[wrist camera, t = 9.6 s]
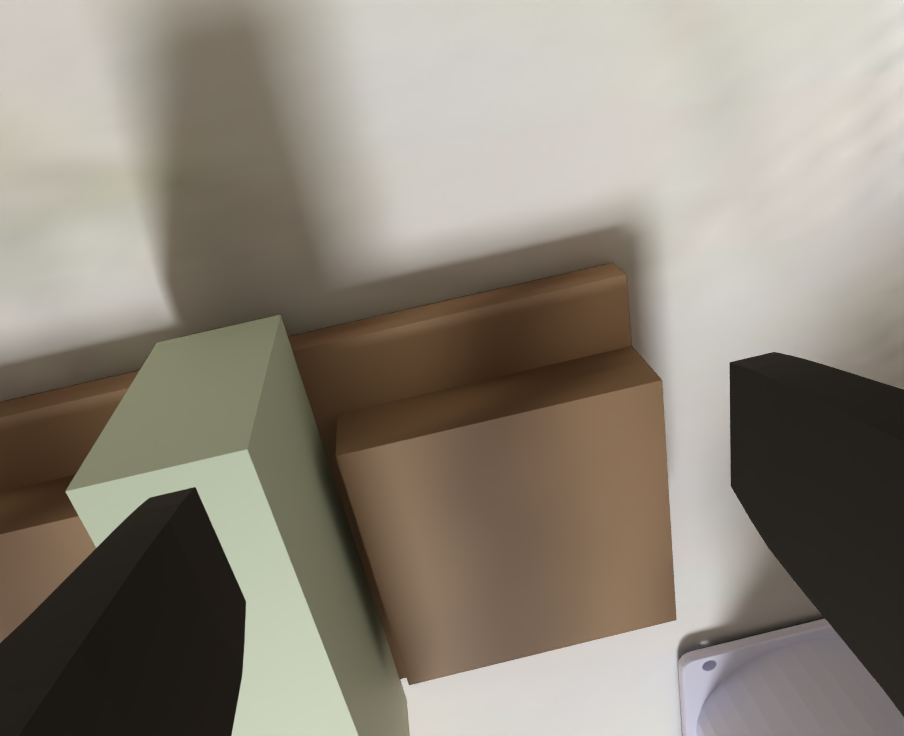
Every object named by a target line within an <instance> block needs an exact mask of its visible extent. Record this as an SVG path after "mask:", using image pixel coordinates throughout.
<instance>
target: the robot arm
mask: <svg viewBox="0 0 904 736" xmlns="http://www.w3.org/2000/svg"><path fill="white" fill-rule="evenodd" d="M730 443H731V487H732V489H733V490H734V492H735V494H736V495H737V497H738V499H739V501H740V502H741V504H742V506H743V507H744V509H745V511H746V513H747V514H748V516H749V518H750V519H751V521H752V523H753V524H754V526H755V527H756V529H757V531H758V532H759V534H760V535H761V537H762V538H763V540H764V542H765V543H766V545H767V546H768V548H769V549H770V550H771V552H772V553H773V554H774V556H775V557H776V558H777V559H778V561H779V562H780V563H781V564H782V566H783V567H784V568H785V569H786V571H787V572H788V573H789V574H790V576H791V577H792V578H793V579H794V581H795V582H796V583H797V584H798V586H799V587H800V588H801V589H802V591H803V592H804V593H805V594H806V596H807V597H808V598H809V599H810V601H811V602H812V603H813V604H814V606H815V607H816V608H817V609H818V610H819V612H820V613H821V614H822V615H823V617H824V619H820V620H816V621H812V622H808V623H804V624H800V625H796V626H792V627H788V628H784V629H779V630H775V631H771V632H767V633H763V634H759V635H755V636H751V637H747V638H743V639H739V640H735V641H731V642H727V643H722V644H718V645H714V646H710V647H706V648H702V649H698V650H694V651H690V652H688V653H685V654H684V655H683V656H682V657H681V658H680V660H679V663H678V670H679V687H680V703H681V719H682V736H904V390H903V389H899V388H896V387H893V386H890V385H887V384H884V383H880V382H877V381H874V380H871V379H868V378H865V377H861V376H858V375H855V374H852V373H849V372H845V371H842V370H839V369H836V368H833V367H829V366H826V365H823V364H819V363H816V362H812V361H809V360H805V359H802V358H798V357H794V356H790V355H785V354H781V353H776V352H772V353H768V354H764V355H760V356H755V357H751V358H747V359H742V360H738V361H734V362H730ZM245 618H246V600H245V598H244V596H243V593H242V591H241V589H240V587H239V584H238V582H237V580H236V578H235V575H234V573H233V571H232V568H231V566H230V564H229V562H228V559H227V557H226V555H225V553H224V550H223V548H222V546H221V544H220V541H219V539H218V537H217V535H216V532H215V530H214V528H213V526H212V523H211V521H210V519H209V516H208V514H207V512H206V510H205V507H204V505H203V503H202V501H201V498H200V496H199V494H198V492H197V489H196V487H193V488H189V489H185V490H180V491H176V492H172V493H167V494H163V495H159V496H154V497H150V498H148V499H147V500H146V501H145V502H144V503H142V504H141V505H140V506H139V507H138V508H137V509H136V510H134V511H133V512H132V513H131V514H130V515H129V516H128V517H127V518H126V519H125V520H124V521H123V522H122V523H121V524H120V525H119V526H118V527H117V528H116V529H115V530H114V531H113V532H112V533H111V534H110V535H109V536H108V537H107V538H106V539H105V540H104V541H103V542H102V543H101V544H100V545H99V546H98V547H97V548H96V549H95V550H94V551H93V552H92V553H91V554H90V555H89V556H88V557H87V558H86V559H85V560H84V561H83V562H82V563H81V564H80V565H79V566H78V567H77V568H76V569H75V570H74V571H73V572H72V573H71V574H70V575H69V576H68V577H67V578H66V579H65V580H64V581H63V582H62V583H61V584H60V585H59V586H58V587H57V588H56V589H55V590H54V591H53V592H52V593H51V594H50V595H49V596H48V597H47V598H46V599H45V600H44V601H43V602H42V603H41V604H40V605H39V606H38V607H37V608H36V609H35V610H34V611H33V612H32V613H31V614H30V615H29V616H28V617H27V618H26V619H25V620H24V621H23V622H22V623H21V624H20V625H19V626H18V627H17V628H16V629H15V630H14V631H13V632H12V633H10V634H9V635H8V636H7V637H6V638H5V639H4V640H3V641H2V642H1V643H0V736H231V735H232V730H233V724H234V719H235V713H236V708H237V702H238V697H239V691H240V685H241V680H242V673H243V658H244V643H245Z"/></svg>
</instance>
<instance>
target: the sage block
mask: <svg viewBox="0 0 904 736" xmlns="http://www.w3.org/2000/svg"><path fill="white" fill-rule="evenodd" d="M193 487H196V489H197V492H198V494H199V496H200V498H201V501H202V503H203V505H204V507H205V510H206V512H207V514H208V516H209V519H210V521H211V523H212V526H213V528H214V530H215V532H216V535H217V537H218V539H219V541H220V544H221V546H222V548H223V550H224V553H225V555H226V557H227V559H228V562H229V564H230V566H231V568H232V571H233V573H234V575H235V578H236V580H237V582H238V584H239V587H240V589H241V591H242V593H243V596H244V598H245V600H246V618H245V643H244V658H243V673H242V680H241V685H240V691H239V697H238V702H237V708H236V713H235V719H234V724H233V730H232V735H231V736H410V735H409V723H408V710H407V699H406V696H405V693H404V690H403V687H402V684H401V681H400V678H399V675H398V672H397V669H396V666H395V663H394V660H393V657H392V654H391V651H390V647H389V644H388V641H387V638H386V635H385V632H384V629H383V626H382V623H381V620H380V617H379V614H378V611H377V608H376V605H375V602H374V599H373V596H372V593H371V589H370V586H369V583H368V580H367V577H366V574H365V571H364V568H363V565H362V562H361V559H360V556H359V553H358V550H357V547H356V544H355V541H354V538H353V535H352V531H351V528H350V525H349V522H348V519H347V516H346V513H345V510H344V507H343V504H342V501H341V498H340V495H339V492H338V489H337V486H336V483H335V480H334V477H333V473H332V470H331V467H330V464H329V461H328V458H327V455H326V452H325V449H324V446H323V443H322V440H321V437H320V434H319V431H318V428H317V425H316V422H315V419H314V415H313V412H312V409H311V406H310V403H309V400H308V397H307V394H306V391H305V388H304V385H303V382H302V379H301V376H300V373H299V370H298V367H297V364H296V361H295V357H294V354H293V351H292V348H291V345H290V342H289V339H288V336H287V333H286V330H285V327H284V324H283V321H282V318H281V315H277V316H272V317H268V318H263V319H259V320H254V321H250V322H246V323H241V324H237V325H232V326H228V327H223V328H219V329H215V330H210V331H206V332H201V333H197V334H193V335H188V336H184V337H179V338H175V339H170V340H166V341H162V342H157V343H156V345H155V346H154V348H153V350H152V351H151V353H150V355H149V356H148V358H147V359H146V361H145V363H144V364H143V366H142V368H141V369H140V371H139V372H138V374H137V376H136V377H135V379H134V381H133V382H132V384H131V385H130V387H129V389H128V390H127V392H126V394H125V395H124V397H123V398H122V400H121V402H120V403H119V405H118V407H117V408H116V410H115V411H114V413H113V415H112V416H111V418H110V420H109V421H108V423H107V424H106V426H105V428H104V429H103V431H102V433H101V434H100V436H99V437H98V439H97V441H96V442H95V444H94V446H93V447H92V449H91V450H90V452H89V454H88V455H87V457H86V459H85V460H84V462H83V463H82V465H81V467H80V468H79V470H78V472H77V473H76V475H75V476H74V478H73V480H72V481H71V483H70V485H69V486H68V488H67V489H66V491H65V492H66V494H67V495H68V497H69V499H70V501H71V503H72V505H73V506H74V508H75V510H76V512H77V514H78V516H79V517H80V519H81V521H82V523H83V525H84V526H85V528H86V530H87V532H88V534H89V536H90V537H91V539H92V541H93V543H94V545H95V546H96V548H97V547H98V546H99V545H100V544H101V543H102V542H103V541H104V540H105V539H106V538H107V537H108V536H109V535H110V534H111V533H112V532H113V531H114V530H115V529H116V528H117V527H118V526H119V525H120V524H121V523H122V522H123V521H124V520H125V519H126V518H127V517H128V516H129V515H130V514H131V513H132V512H133V511H134V510H136V509H137V508H138V507H139V506H140V505H141V504H142V503H144V502H145V501H146V500H147V499H148V498H150V497H154V496H159V495H163V494H167V493H172V492H176V491H180V490H185V489H189V488H193Z"/></svg>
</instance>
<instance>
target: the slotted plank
mask: <svg viewBox="0 0 904 736" xmlns="http://www.w3.org/2000/svg"><path fill="white" fill-rule="evenodd" d="M288 339H289V342H290V345H291V348H292V351H293V354H294V357H295V361H296V364H297V367H298V370H299V373H300V376H301V379H302V382H303V385H304V388H305V391H306V394H307V397H308V400H309V403H310V406H311V409H312V412H313V415H314V419H315V422H316V425H317V428H318V431H319V434H320V437H321V440H322V443H323V446H324V449H325V452H326V455H327V458H328V461H329V464H330V467H331V470H332V473H333V477H334V480H335V483H336V486H337V489H338V492H339V495H340V498H341V501H342V504H343V507H344V510H345V513H346V516H347V519H348V522H349V525H350V528H351V531H352V535H353V538H354V541H355V544H356V547H357V550H358V553H359V556H360V559H361V562H362V565H363V568H364V571H365V574H366V577H367V580H368V583H369V586H370V589H371V593H372V596H373V599H374V602H375V605H376V608H377V611H378V614H379V617H380V620H381V623H382V626H383V629H384V632H385V635H386V638H387V641H388V644H389V647H390V651H391V654H392V657H393V660H394V663H395V666H396V669H397V672H398V675H399V678H400V679H402V678H406V677H407V680H408V683H409V685H412V684H416V683H420V682H424V681H428V680H432V679H436V678H440V677H445V676H449V675H453V674H457V673H461V672H465V671H469V670H473V669H477V668H481V667H486V666H490V665H494V664H498V663H502V662H506V661H510V660H514V659H518V658H522V657H527V656H531V655H535V654H539V653H543V652H547V651H551V650H555V649H559V648H563V647H568V646H572V645H576V644H580V643H584V642H588V641H592V640H596V639H600V638H604V637H609V636H613V635H617V634H621V633H625V632H629V631H633V630H637V629H641V628H645V627H650V626H654V625H658V624H662V623H666V622H670V621H674V620H676V605H675V589H674V572H673V555H672V539H671V522H670V505H669V489H668V472H667V455H666V439H665V422H664V405H663V389H662V380H661V379H660V377H659V376H658V375H657V374H656V373H655V372H654V371H653V369H652V368H651V367H650V366H649V365H648V364H647V363H646V361H645V360H644V359H643V358H642V357H641V356H640V355H639V353H638V352H637V351H636V350H635V349H634V348H633V347H632V341H631V328H630V316H629V303H628V291H627V278H626V274H625V273H624V272H623V271H621V270H620V269H619V268H618V267H617V266H616V265H615V264H614V263H610V264H605V265H601V266H597V267H592V268H588V269H583V270H579V271H575V272H570V273H566V274H561V275H557V276H553V277H548V278H544V279H539V280H535V281H531V282H526V283H522V284H517V285H513V286H509V287H504V288H500V289H495V290H491V291H487V292H482V293H478V294H473V295H469V296H465V297H460V298H456V299H451V300H447V301H443V302H438V303H434V304H429V305H425V306H421V307H416V308H412V309H407V310H403V311H399V312H394V313H390V314H386V315H381V316H377V317H372V318H368V319H364V320H359V321H355V322H350V323H346V324H342V325H337V326H333V327H328V328H324V329H320V330H315V331H311V332H306V333H302V334H298V335H293V336H289V337H288ZM139 371H140V370H139ZM139 371H135V372H130V373H126V374H122V375H117V376H113V377H108V378H104V379H100V380H95V381H91V382H86V383H82V384H78V385H73V386H69V387H64V388H60V389H56V390H51V391H47V392H42V393H38V394H34V395H29V396H25V397H21V398H16V399H12V400H7V401H3V402H0V643H1V642H2V641H3V640H4V639H5V638H6V637H7V636H8V635H9V634H10V633H12V632H13V631H14V630H15V629H16V628H17V627H18V626H19V625H20V624H21V623H22V622H23V621H24V620H25V619H26V618H27V617H28V616H29V615H30V614H31V613H32V612H33V611H34V610H35V609H36V608H37V607H38V606H39V605H40V604H41V603H42V602H43V601H44V600H45V599H46V598H47V597H48V596H49V595H50V594H51V593H52V592H53V591H54V590H55V589H56V588H57V587H58V586H59V585H60V584H61V583H62V582H63V581H64V580H65V579H66V578H67V577H68V576H69V575H70V574H71V573H72V572H73V571H74V570H75V569H76V568H77V567H78V566H79V565H80V564H81V563H82V562H83V561H84V560H85V559H86V558H87V557H88V556H89V555H90V554H91V553H92V552H93V551H94V550H95V549H96V546H95V545H94V543H93V541H92V539H91V537H90V536H89V534H88V532H87V530H86V528H85V526H84V525H83V523H82V521H81V519H80V517H79V516H78V514H77V512H76V510H75V508H74V506H73V505H72V503H71V501H70V499H69V497H68V495H67V494H66V492H65V491H66V489H67V488H68V486H69V485H70V483H71V481H72V480H73V478H74V476H75V475H76V473H77V472H78V470H79V468H80V467H81V465H82V463H83V462H84V460H85V459H86V457H87V455H88V454H89V452H90V450H91V449H92V447H93V446H94V444H95V442H96V441H97V439H98V437H99V436H100V434H101V433H102V431H103V429H104V428H105V426H106V424H107V423H108V421H109V420H110V418H111V416H112V415H113V413H114V411H115V410H116V408H117V407H118V405H119V403H120V402H121V400H122V398H123V397H124V395H125V394H126V392H127V390H128V389H129V387H130V385H131V384H132V382H133V381H134V379H135V377H136V376H137V374H138V372H139Z"/></svg>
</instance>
